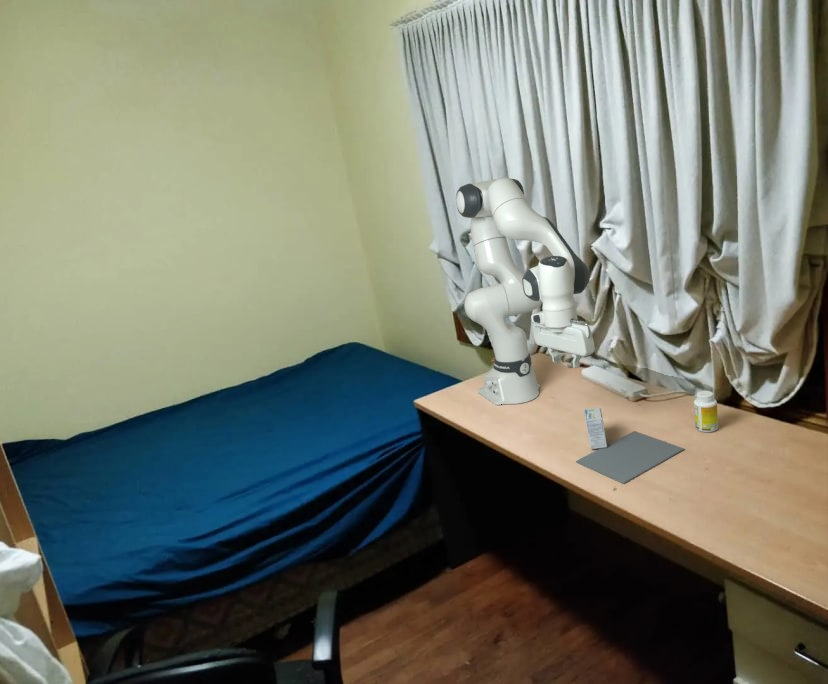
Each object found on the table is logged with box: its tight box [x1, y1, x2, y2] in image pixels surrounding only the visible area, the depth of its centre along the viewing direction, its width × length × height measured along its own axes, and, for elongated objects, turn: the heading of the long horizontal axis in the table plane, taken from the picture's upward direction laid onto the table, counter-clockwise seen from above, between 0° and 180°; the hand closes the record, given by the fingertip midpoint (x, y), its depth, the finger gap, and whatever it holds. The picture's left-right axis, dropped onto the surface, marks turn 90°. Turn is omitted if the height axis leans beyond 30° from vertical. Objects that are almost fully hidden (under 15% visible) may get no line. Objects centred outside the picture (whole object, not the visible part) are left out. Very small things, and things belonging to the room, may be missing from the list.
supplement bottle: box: [693, 390, 719, 433], centre depth 168 cm, size 6×6×10 cm
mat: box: [575, 430, 685, 485], centre depth 163 cm, size 16×22×1 cm
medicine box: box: [584, 407, 608, 450], centre depth 172 cm, size 8×4×9 cm, turn 169°
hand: (566, 364), depth 174 cm, fingers open, 6 cm apart
